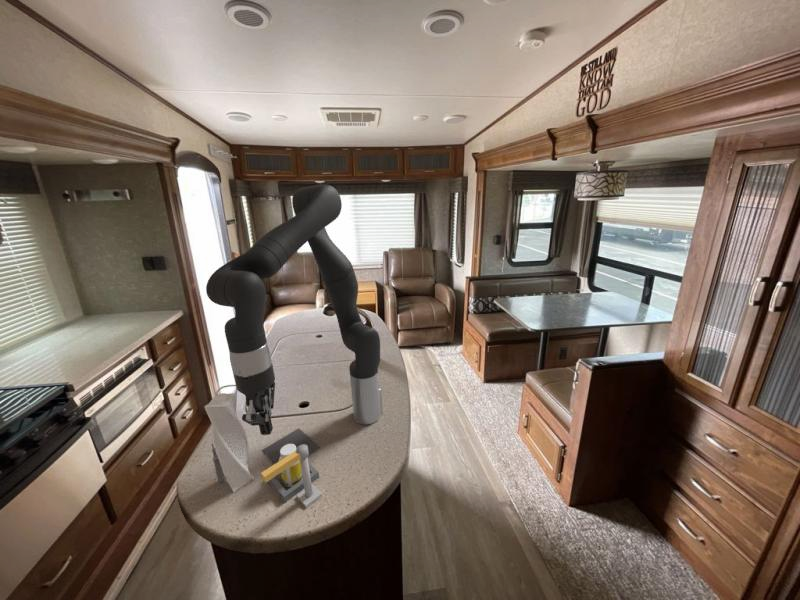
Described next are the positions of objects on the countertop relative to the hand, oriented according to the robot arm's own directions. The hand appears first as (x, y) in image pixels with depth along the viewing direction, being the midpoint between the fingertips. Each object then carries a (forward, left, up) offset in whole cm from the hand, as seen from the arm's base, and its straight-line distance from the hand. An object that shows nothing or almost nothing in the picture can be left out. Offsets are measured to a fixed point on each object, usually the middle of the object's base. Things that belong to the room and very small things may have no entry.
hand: (267, 432), depth 70 cm
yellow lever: (-2, +4, -8) cm, 9 cm away
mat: (-11, -14, -21) cm, 27 cm away
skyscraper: (+4, -15, -22) cm, 26 cm away
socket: (-6, -1, -21) cm, 22 cm away
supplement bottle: (-6, -4, -21) cm, 22 cm away
